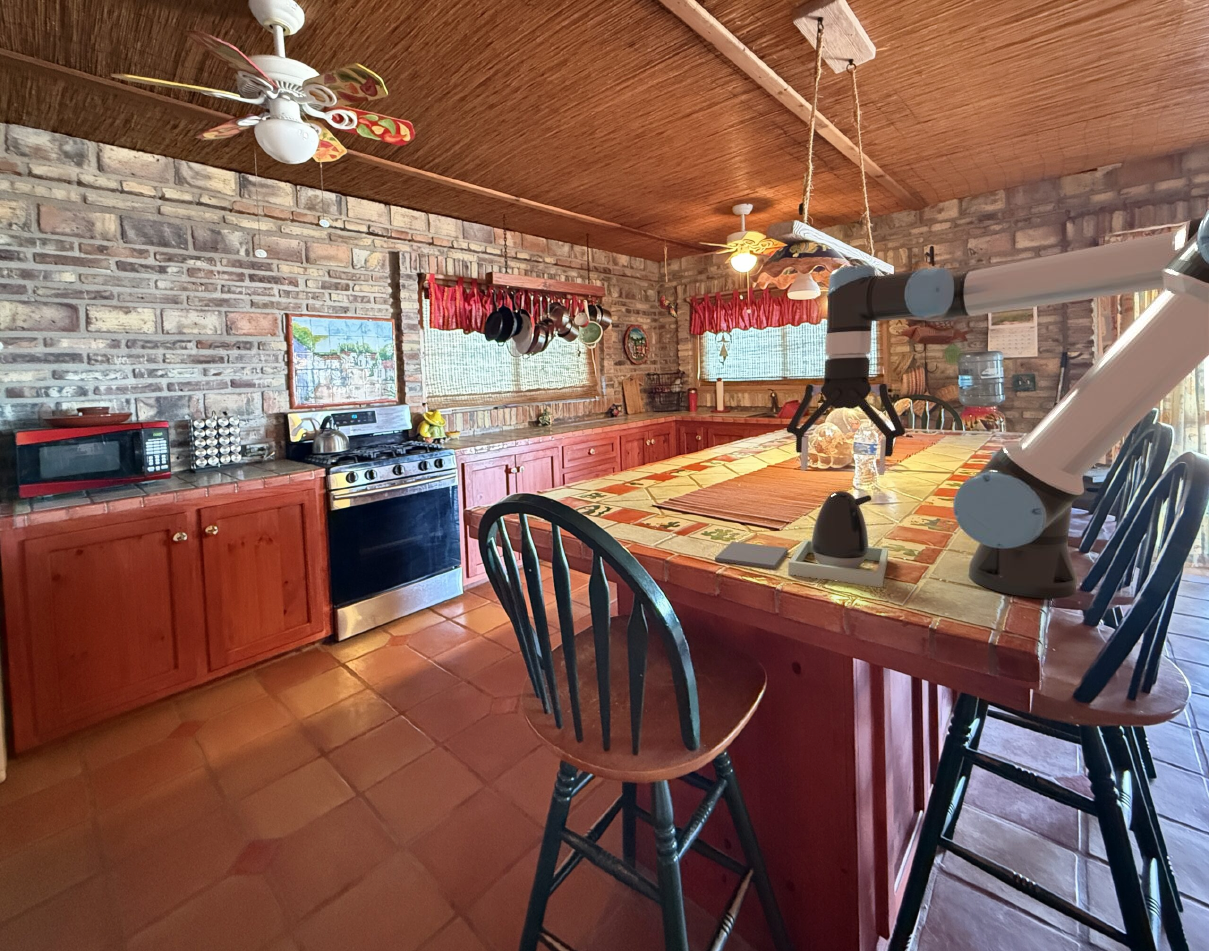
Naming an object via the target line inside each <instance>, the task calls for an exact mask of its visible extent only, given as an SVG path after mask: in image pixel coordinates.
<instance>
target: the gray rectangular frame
mask: <svg viewBox="0 0 1209 951" xmlns="http://www.w3.org/2000/svg"><path fill="white" fill-rule="evenodd" d="M811 542H812V539H803V540H802V541H801V543H800V545H799V546H798V547H797V549H796V550H795V552H794V554H793V555H792V557H790V559H789V561H787V562H788V566H787V567H788V568H787V570H788V571H787V575H788V574H789V575H788V576H794V575H796V576H795V577H801V576H802V578H809V577H811V579H816V578H817V580H823V579H830V580H837V581H836V582H838V581H842V582H841V583H845V582H848V583H847V584H852V583H855V584H854V585H861V586H865V587H866V586H867V587H874V588H875V587H876V588H881V589H883V586H884V585H883V584H884V579H885V575H886V570H887V564H888V561H889V559H888V558H889V557H888V555H889V548H888V547H879V546H869V545H868V554H867V555H866V557H865V560H869V561H876V562H877V561H878V566H877V570H868V569H859V568H857V569H853V568H845V567H837V566H830V565H822V564H819V563H814V562H813V563H812V562H806V561H804V559H805V558H806V557H807V555H808V554H809V553H810V554H814V552H813V550H812V548H811ZM830 580H829V581H830Z"/></svg>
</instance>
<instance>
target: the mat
mask: <svg viewBox="0 0 1209 951" xmlns="http://www.w3.org/2000/svg"><path fill="white" fill-rule="evenodd" d="M787 553H788V547H784V546H783V547H782V546H774V545H766V544H765V545H764V544H757V543H756V544H755V543H750V542H749V543H746V542H739V541H731V542H730V543H729V544H727V545H726V547H725V548H723V549H722V550H721V551H720V552H719V553H718V554H717V555H715V557H714V562H718V563H725V562H727V563H728V562H729V563H728V564H733V563H736V564H735V565H740V564H742V566H747V565H748V567H755V566H757V567H756V568H762V567H763V568H762V569H769V568H771V569H770V570H775V569H776V568H777V567H778V565H779V564H780V563H781V561H782V560H783V558H784V557H785V555H786V554H787ZM727 563H726V564H727ZM778 563H779V564H778Z"/></svg>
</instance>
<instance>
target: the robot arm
mask: <svg viewBox="0 0 1209 951" xmlns="http://www.w3.org/2000/svg"><path fill="white" fill-rule="evenodd" d="M875 273H876V271H875V267H873V266H871V265H866V264H865V265H864V264H862V265H853V266H852V265H851V266H844V267H843V266H842V267H839V268H836V269H834V270H833V271H832V272H831V273H830V274H829V279H828V280H829V281H828V287H827V288H828V289H827V295H826V298H827V314H826V316H827V317H826V318H827V319H826V321H827V322H826V333H825V349H824V350H825V351H824V352H825V353H824V354H825V356H828V358H827V359H825V361H824V378H823V379H824V381H823V384H822V385H815V384H813V383H810V384H807V385H806V386H805V392H804V397H803V398H802V400H801V402H800V403H799V405H798V407H797V409H796V412H795V413H794V415H793V416H792V418H791V420H790V421H789V424H788V425H787V427H786V432H787V433H789V434H793V435H794V436H795V439H796V440H795V451H796V453H799V454H801V456H800V458H801V459H800V471H801V472H802V471H803V472H805V471H806V470H808V467H809V466H808V465H809V464H808V462H809V461H808V460H809V438H810V437H809V435H805V434H806V433H807V432H808V431H809V429H810V428H811V427H813V425H815V423H816V422H817V421H818V420H819V419H820V418H821V417H822V416H823V415H824V414H825V413H826V412H827V410H829V409H830V408H831V407H832V408H834V409H838V410H839V409H842V408H843V409H844V408H845V409H848V410H849V409H851V410H853V409H856V408H858V407H859V408H860V409H861V410H862V411H863V413H865V415H866V416H867V417H868V418H869V419H870V420H871V422H872V423H873V424H874V425H875V426H876V428H877V429H878V430H879V431H880V432H881V433H882V434H883V436H884V437H881V439H880V454H879V468H878V475H879V476H884V475H885V469H886V457H892V455H893V453H894V440H895V438H898V437H902V436H904V435H905V434H906V428H905V426H904V424H903V422H902V420H901V419H900V417H899V415H898V412H897V410H896V408H895V406H894V404H893V403H892V400H891V398H890V396H889V387H888V384H887V383H886V382H882V383H880V384H872V385H871V384H870V379H869V378H870V363H871V359H869V358H870V357H868V356H867V355H870V353H871V346H872V343H871V342H872V325H873V322H880V321H890V320H891V321H892V320H894V321H895V320H906V319H907V320H916V321H927V322H932V323H946V322H950V321H953V320H955V319H961V318H967V317H973V316H979V315H985V314H986V315H987V314H994V313H999V312H1000V313H1001V312H1007V311H1014V310H1022V309H1028V308H1029V309H1030V308H1035V307H1043V306H1048V305H1049V306H1050V305H1058V304H1064V303H1071V302H1072V303H1073V302H1079V301H1084V300H1091V299H1099V298H1107V297H1113V296H1120V295H1127V294H1136V293H1142V292H1147V291H1148V292H1149V291H1156V290H1161V291H1160V292H1159V293H1158V294H1157V295H1156V297H1155V298H1153V300H1151V302H1150V303H1149V304H1148V306H1146V308H1144V310H1143V311H1142V312H1141V313H1139V315H1138V316H1137V317H1136V318H1135V319H1133V320H1134V321H1132V322H1131V323H1130V325H1128V327H1127V328H1126V329H1125V330H1124V331H1123V332H1122V333H1121V334H1120V335H1119V337H1117V339H1116V340H1115V341H1114V342H1113V343H1112V344H1111V345H1110V346H1109V347H1108V349H1107V350H1105V352H1104V353H1103V354H1102V355H1101V356H1099V358H1098V359H1097V360H1096V362H1095V363H1093V365H1092V366H1091V367H1090V368H1089V369H1088V370H1087V371H1086V372H1085V374H1083V375H1082V377H1081V378H1079V380H1078V381H1077V382H1075V384H1074V385H1073V386H1072V388H1071V389H1070V390H1068V392H1067V393H1066V394H1064V396H1063V397H1062V398H1061V399H1060V400H1059V401H1058V402H1057V404H1056V405H1054V407H1053V408H1052V409H1051V410H1050V411H1049V412H1048V413H1047V414H1046V416H1045V417H1043V419H1042V420H1041V421H1040V422H1039V423H1038V424H1037V425H1036V426H1035V427H1034V428H1033V429H1032V430H1031V431H1030V433H1029V434H1028V435H1027V436H1026V437H1025V438H1024V439H1023V440H1021V441H1015V442H1009V443H1005V444H1004V445H1002V447H1001V448H1000V449H999V450H998V451H994V452H992V454H991V455H990V460H989V461H988V462H987V463H986V464H985V465H984V466H983V467H982V468H981V469H980V471H979V472H978V473H977V474H975V475H972V476H970V477H969V478H968V479H966V480H965V481H963V483H961V485H960V487H958V489H957V491H956V494H955V496H954V498H953V505H952V506H953V508H952V509H953V514H954V517H955V520H956V522H957V524H958V526H959V527H960V529H961V530H962V531H963V532H964V533H965V534H966V535H967V536H968V537H970V539H972V540H974V541H975V542H977V543H979V544H978V546H977V548H976V550H975V552H974V554H973V556H972V558H971V560H970V562H969V569H968V578H970V580H971V581H973V582H974V583H976V584H978V585H980V586H982V587H984V588H987V589H989V590H992V591H995V592H998V593H1003V594H1007V595H1012V596H1019V597H1024V598H1033V599H1049V600H1050V599H1051V600H1052V599H1064V598H1068V597H1071V596H1074V594H1076V592H1077V583H1078V578H1077V574H1076V571H1075V567H1074V565H1073V560H1072V556H1071V554H1070V550H1069V547H1068V546H1069V545H1068V542H1069V533H1070V525H1071V516H1072V505H1073V503H1074V502H1075V501H1077V499H1078V498H1080V496H1082V494H1083V493H1084V492H1085V488H1084V481H1083V477H1084V475H1086V474H1087V473H1088V471H1090V469H1091V468H1093V467H1094V466H1095V465H1096V464H1097V463H1098V462H1099V461H1100V460H1101V459H1103V457H1104V456H1105V455H1107V454H1108V452H1109V451H1111V449H1113V447H1115V446H1116V445H1117V444H1118V443H1119V442H1120V441H1121V440H1122V439H1123V438H1124V437H1125V436H1126V435H1127V434H1128V433H1130V431H1132V430H1133V428H1134V427H1135V426H1137V425H1138V424H1139V423H1140V422H1141V421H1142V420H1143V419H1145V417H1146V416H1147V415H1148V414H1149V413H1150V412H1151V411H1153V409H1154V408H1155V407H1156V406H1158V404H1159V403H1161V402H1162V401H1163V399H1165V398H1166V397H1167V396H1168V395H1170V393H1171V392H1172V391H1173V390H1174V389H1175V388H1176V387H1177V386H1178V385H1180V384H1181V382H1183V381H1184V380H1185V378H1187V377H1188V376H1189V375H1190V374H1191V373H1192V372H1193V371H1194V370H1196V368H1197V367H1198V366H1199V365H1200V364H1201V363H1202V362H1203V361H1205V360H1206V358H1208V357H1209V209H1208V210H1207V211H1206V213H1205V216H1204V217H1200V218H1197V219H1196V218H1195V219H1190V220H1187V221H1186V222H1184V224H1183V225H1181V226H1180V227H1179V228H1178V229H1176V230H1174V231H1170V232H1163V233H1160V234H1154V235H1149V236H1143V237H1138V238H1133V239H1128V240H1123V241H1118V242H1115V243H1113V242H1112V243H1108V244H1105V245H1104V244H1103V245H1099V246H1093V247H1088V248H1083V249H1078V250H1073V251H1067V252H1062V253H1058V254H1053V255H1047V256H1043V257H1042V256H1041V257H1037V258H1032V259H1027V260H1022V261H1017V262H1012V263H1008V264H1006V263H1005V264H1002V265H998V266H997V265H996V266H992V267H987V268H982V269H981V268H980V269H976V270H969V271H966V272H960V273H955V274H951V273H952V272H951V271H950V270H949V269H948V268H946V267H933V268H928V267H923V268H920V269H917V270H910V271H905V272H904V271H903V272H897V273H892V274H891V273H890V274H884V275H876V274H875ZM871 392H873V393H874V395H875V396H876V397H879V399H880V401H881V403H882V405H883V407H884V409H885V411H886V413H887V415H888V418H889V420H890V421H891V424H892V426H893V427H894V429H893V430H892V429H891V428H890V427H889V426H888V424H887V423H886V422H885V421H884V420H883V419H882V418H881V416H880V415H879V414H878V413H877V412H876V410H874V408H873V407H872V406H871V405H870V403H869V402H868V401H867V400H866V398H867V397H868V395H869V394H870V393H871ZM819 393H821V395H823V397H824V398H825V400H824V402H822V404H820V406H819V407H818V408H817V409H816V410H815V411H814V412H813V413H812V415H810V417H808V418H807V420H806V421H805V422H804V423H803V424H802V425H801V426H800V428H799V427H798V425H799V423H800V422H801V420H802V418H803V417H804V415H805V413H806V411H807V409H808V408H809V406H810V405H811V403H812V400H813V398H814V397H816V396H817V395H819Z"/></svg>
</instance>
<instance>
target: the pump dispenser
mask: <svg viewBox="0 0 1209 951" xmlns="http://www.w3.org/2000/svg"><path fill="white" fill-rule="evenodd" d="M870 501H872V496H871V495H869V494H868V495H867V494H866V495H864V496H861V497H858V498H855V496H854V495H853V494H851V492H848V491H844V490H835V491H834V492H832V493H830V494H829V495H828V496H827V498H826V499H825V500H824V502H823V504H822V505H821V508H820V509H819V512H818V514H817V517H816V520H815V523H814V526H813V531H812V536H811V540H812V542H811V548H812V550H813V552H814V553H813V555H814V558H815V560H816V561H817V564H822V565H830V566H837V567H845V568H853V569H859V567H861V566H862V564H863V563H864V562H865V560H866V559H865V557H866V555H867V554H868V546H869V537H868V536H869V535H868V530H867V529H868V528H867V524H866V520H865V516H864V514H863V511H862V510H861V507H860V506H861V505H863V504H866V503H868V502H870Z"/></svg>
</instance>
